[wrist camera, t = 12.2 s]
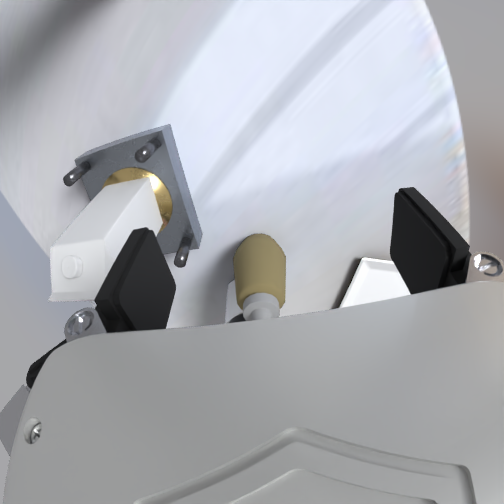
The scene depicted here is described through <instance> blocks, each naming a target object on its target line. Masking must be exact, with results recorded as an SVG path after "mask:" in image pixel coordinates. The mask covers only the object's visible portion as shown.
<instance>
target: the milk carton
mask: <svg viewBox="0 0 504 504" xmlns="http://www.w3.org/2000/svg"><path fill="white" fill-rule="evenodd" d="M162 224H163V222H162V218H161V215H160V211H159V208H158V204H157V201H156V197H155V194H154V190H153V187H152V183H151V179H150V177H146V178H141V179H136V180H131V181H126V182H121V183H116V184H112V185H107V186H105V187H104V188H103V189H102V190H101V191H100V192H99V193H98V194H97V195H96V196H95V198H94V199H93V200H92V201H91V202H90V203H89V204H88V205H87V206H86V207H85V208H84V209H83V210H82V211H81V213H80V214H79V215H78V216H77V217H76V218H75V219H74V220H73V222H72V223H71V224H70V225H69V226H68V227H67V228H66V230H65V231H64V232H63V233H62V234H61V236H60V237H59V238H58V239H57V240H56V242H55V243H54V244H53V246H52V247H51V248H50V262H51V286H52V294H51V295H50V297H49V299H48V301H50V302H52V301H94V299H95V297H96V295H97V293H98V292H99V290H100V288H101V286H102V284H103V282H104V280H105V278H106V276H107V274H108V272H109V271H110V269H111V267H112V265H113V263H114V262H115V260H116V258H117V256H118V254H119V253H120V251H121V249H122V247H123V246H124V244H125V242H126V240H127V239H128V237H129V235H130V234H131V232H132V231H133V230H134V229H139V228H144V227H147V228H148V229H149V230H153V231H154V233H155V236H157V234H158V232H159V230H160V228H161V226H162Z"/></svg>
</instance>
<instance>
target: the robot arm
mask: <svg viewBox="0 0 504 504" xmlns="http://www.w3.org/2000/svg"><path fill="white" fill-rule="evenodd" d="M469 247H470V246H469V245H468V243H467V242H466V241H465V240H464V239H463V238H462V237H461V235H460V234H459V233H458V232H457V231H456V230H455V229H454V228H453V227H452V225H451V224H450V223H449V222H448V221H447V220H446V219H445V218H444V217H443V216H442V215H441V214H440V213H439V212H438V211H437V210H436V208H435V207H434V206H433V205H432V204H431V203H430V202H429V201H428V200H427V199H426V198H425V197H424V196H423V195H421V194H420V193H419V192H418V191H417V190H416V189H415V188H414V187H410V188H400V189H399V191H398V192H397V193H395V198H394V213H393V226H392V236H391V246H390V256H391V259H392V261H393V263H394V264H395V266H396V268H397V270H398V271H399V273H400V275H401V277H402V279H403V281H404V282H405V284H406V286H407V288H408V290H409V292H410V294H411V295H406V296H402V297H397V298H392V299H387V300H381V301H376V302H371V303H365V304H360V305H354V306H349V307H343V308H337V309H331V310H325V311H318V312H312V313H305V314H298V315H291V316H284V317H277V318H269V319H261V320H253V321H245V322H236V323H226V324H216V325H206V326H195V327H183V328H171V329H166V326H167V322H168V318H169V314H170V310H171V306H172V302H173V299H174V295H175V291H176V284H175V281H174V279H173V276H172V274H171V272H170V269H169V267H168V265H167V262H166V260H165V258H164V255H163V253H162V250H161V248H160V246H159V243H158V241H157V238H156V236H155V233H154V231H153V230H149V229H148V228H147V227H144V228H139V229H134V230H133V231H132V232H131V234H130V235H129V237H128V239H127V240H126V242H125V244H124V246H123V247H122V249H121V251H120V253H119V254H118V256H117V258H116V260H115V262H114V263H113V265H112V267H111V269H110V271H109V272H108V274H107V276H106V278H105V280H104V282H103V284H102V286H101V288H100V290H99V292H98V293H97V295H96V297H95V299H94V301H95V303H96V304H97V306H96V308H95V309H93V308H84V309H81V310H79V311H77V312H76V313H74V314H73V315H72V316H71V317H70V318H69V320H68V321H67V323H66V325H65V328H64V333H65V336H66V339H65V340H64V341H62V342H61V343H60V344H58V345H57V346H56V347H54V348H53V349H52V350H50V351H49V352H48V353H46V354H45V355H44V356H42V357H41V358H40V359H38V360H37V361H36V362H34V363H33V364H32V365H31V366H30V368H29V371H28V373H27V377H26V381H27V386H24V385H22V386H21V388H20V389H19V390H18V391H17V392H16V394H15V395H14V396H13V397H12V399H11V400H10V401H9V402H8V404H7V405H6V406H5V407H4V409H3V410H2V412H1V413H0V439H1V441H2V443H3V445H4V447H5V449H6V451H7V452H8V454H9V456H10V460H9V465H8V470H7V476H6V483H5V489H4V498H3V504H504V263H503V261H501V259H500V258H498V257H497V256H496V255H494V254H491V253H489V252H485V251H478V252H475V253H474V254H473V255H471V253H470V252H469Z"/></svg>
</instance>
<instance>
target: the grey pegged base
mask: <svg viewBox="0 0 504 504" xmlns="http://www.w3.org/2000/svg"><path fill="white" fill-rule="evenodd" d="M75 163H76V165H77V167H76V168H74V169H73V170H72V171H70V172H69V173H68V174H67V175H65V176H64V178H63V181H64V183H65V185H66V186H72V185H73V184H74V183H75V182H76V181H77V180H79V179H80V178H82V181H83V183H84V186H85V188H86V191H87V193H88V196H89V198H90V200H91V201H92V200H93V199H94V198H95V196H96V195H97V194H98V193H99V192H100V191H101V190H102V189H103V188H104V187H105V186H107V185H112V184H116V183H121V182H126V181H131V180H136V179H141V178H146V177H150V179H151V183H152V187H153V190H154V194H155V197H156V201H157V204H158V208H159V211H160V215H161V218H162V222H163V224H162V226H161V228H160V230H159V232H158V234H157V236H156V238H157V241H158V243H159V246H160V248H161V250H162V253H163V254H168V253H174V252H177V254H176V257H175V260H174V264H175V265H176V266H177V267H180V268H182V267H184V266H185V265H186V261H187V257H188V254H189V250H193V249H199V246H200V242H201V238H202V231H201V227H200V224H199V221H198V218H197V215H196V211H195V208H194V205H193V202H192V198H191V195H190V192H189V188H188V185H187V182H186V178H185V175H184V171H183V168H182V165H181V161H180V158H179V154H178V151H177V147H176V143H175V140H174V136H173V133H172V129H171V125H170V124H168V125H165V126H161V127H158V128H154V129H151V130H147V131H144V132H141V133H138V134H135V135H131V136H128V137H125V138H122V139H119V140H117V141H114V142H111V143H108V144H105V145H103V146H100V147H97V148H95V149H92V150H89V151H87V152H86V153H84V154H83V155H81V156H80V157H78V158H77V159H75Z"/></svg>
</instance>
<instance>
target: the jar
mask: <svg viewBox="0 0 504 504" xmlns="http://www.w3.org/2000/svg"><path fill="white" fill-rule="evenodd" d="M245 321H246V320H245V318H244V317H243V310H241V309H240V307H239V306H238V304H237V300H236V289H235V279H234V280H233V281H232V282H231V283H229V284H228V291H227V303H226V314H225V324H226V323H236V322H245Z"/></svg>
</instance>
